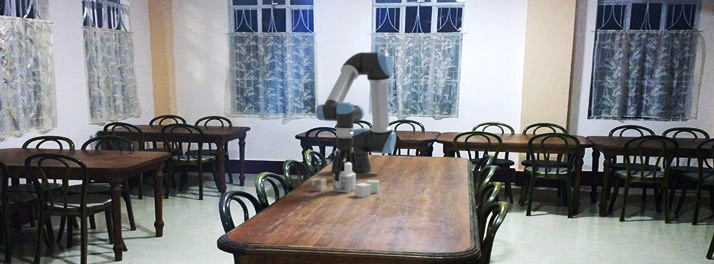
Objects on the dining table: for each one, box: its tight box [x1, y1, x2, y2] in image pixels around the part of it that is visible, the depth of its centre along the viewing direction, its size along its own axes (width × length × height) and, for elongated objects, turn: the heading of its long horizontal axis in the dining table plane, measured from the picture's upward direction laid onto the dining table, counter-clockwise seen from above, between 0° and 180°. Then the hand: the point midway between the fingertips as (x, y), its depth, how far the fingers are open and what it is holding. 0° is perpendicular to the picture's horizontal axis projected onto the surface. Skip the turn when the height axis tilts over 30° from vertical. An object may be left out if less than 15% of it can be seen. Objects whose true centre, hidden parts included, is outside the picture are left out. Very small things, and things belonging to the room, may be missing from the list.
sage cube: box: [366, 179, 380, 194], centre depth 236 cm, size 5×5×5 cm
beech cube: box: [311, 177, 327, 192], centre depth 239 cm, size 5×5×5 cm
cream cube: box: [354, 182, 372, 198], centre depth 229 cm, size 5×5×5 cm
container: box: [332, 161, 357, 194], centre depth 237 cm, size 8×8×13 cm
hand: (344, 186), depth 238 cm, fingers closed on container, 8 cm apart
